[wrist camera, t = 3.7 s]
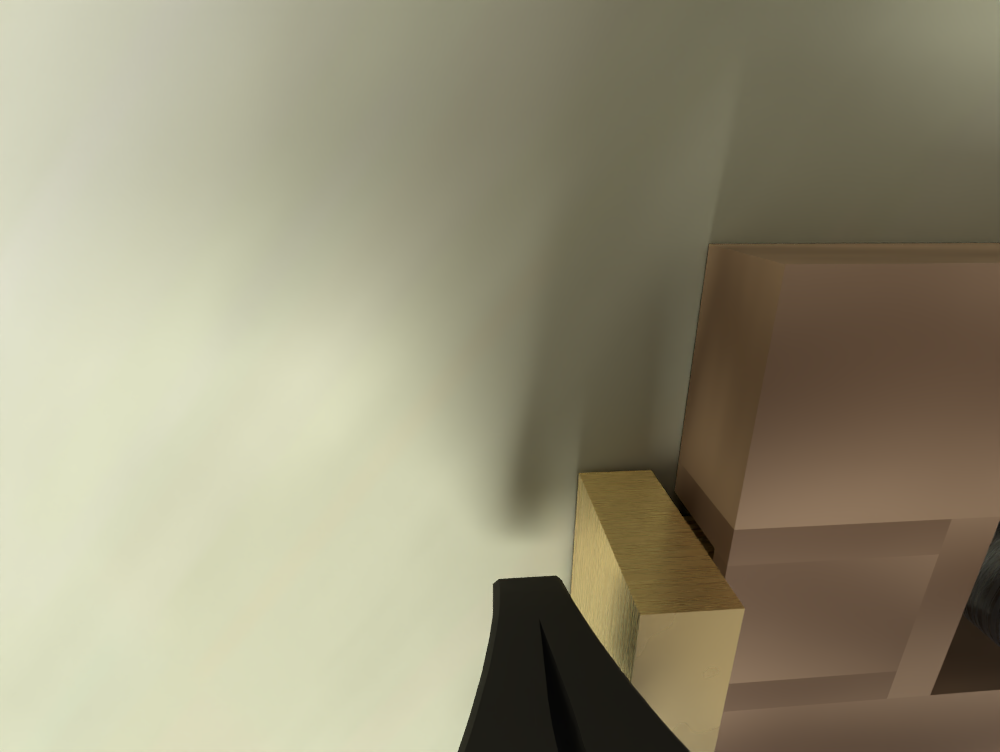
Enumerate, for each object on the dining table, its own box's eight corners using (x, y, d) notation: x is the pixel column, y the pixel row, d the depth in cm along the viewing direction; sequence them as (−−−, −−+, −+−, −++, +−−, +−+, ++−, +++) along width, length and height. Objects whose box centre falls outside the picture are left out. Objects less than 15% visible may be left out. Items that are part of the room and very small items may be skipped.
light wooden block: (782, 616, 14) (907, 783, 10) (568, 629, 13) (615, 810, 9) (820, 463, 12) (986, 592, 8) (579, 472, 12) (640, 614, 8)
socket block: (1025, 716, 16) (1122, 807, 14) (637, 749, 15) (671, 853, 13) (1259, 241, 11) (1471, 259, 9) (709, 244, 10) (785, 264, 8)
